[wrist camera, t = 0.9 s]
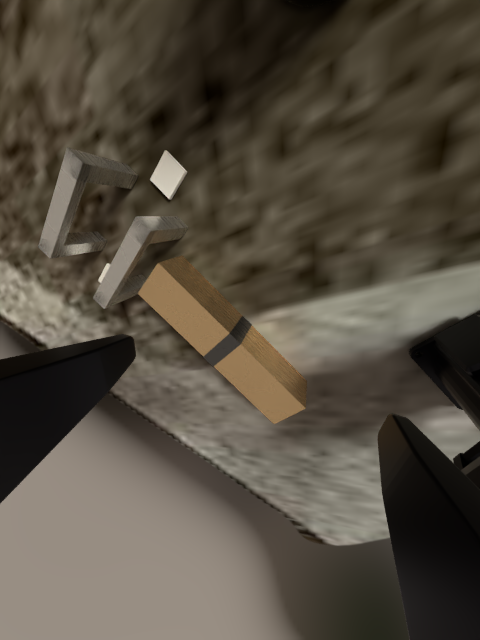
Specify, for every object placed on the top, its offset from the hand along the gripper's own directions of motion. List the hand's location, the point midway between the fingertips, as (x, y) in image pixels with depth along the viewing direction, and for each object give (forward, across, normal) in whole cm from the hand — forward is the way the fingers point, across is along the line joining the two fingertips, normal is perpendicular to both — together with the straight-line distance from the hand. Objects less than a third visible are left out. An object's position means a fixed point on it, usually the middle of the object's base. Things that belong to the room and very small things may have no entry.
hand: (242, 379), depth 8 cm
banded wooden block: (+12, +4, +5) cm, 13 cm away
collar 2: (+12, +12, -1) cm, 16 cm away
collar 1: (+11, +16, -4) cm, 20 cm away
